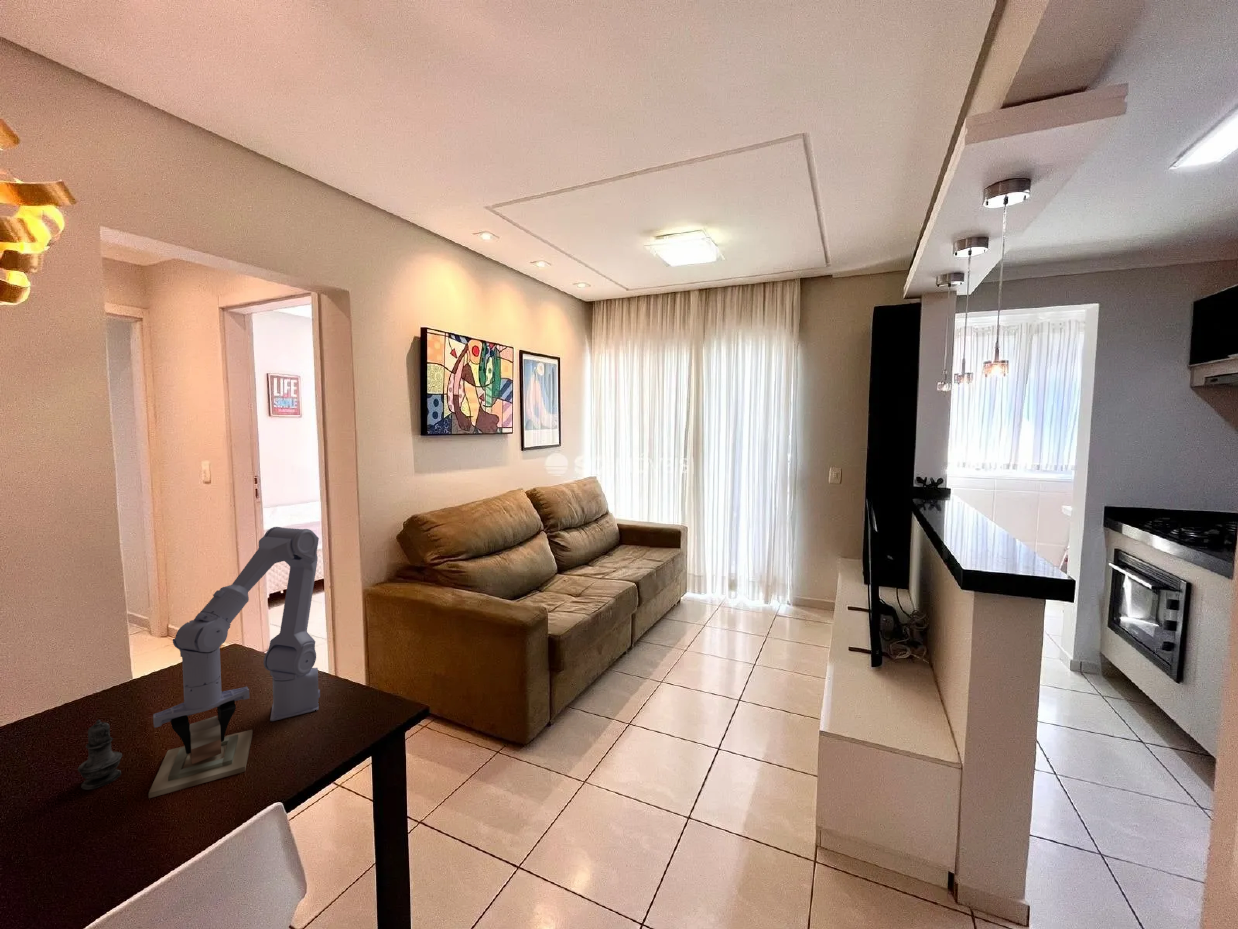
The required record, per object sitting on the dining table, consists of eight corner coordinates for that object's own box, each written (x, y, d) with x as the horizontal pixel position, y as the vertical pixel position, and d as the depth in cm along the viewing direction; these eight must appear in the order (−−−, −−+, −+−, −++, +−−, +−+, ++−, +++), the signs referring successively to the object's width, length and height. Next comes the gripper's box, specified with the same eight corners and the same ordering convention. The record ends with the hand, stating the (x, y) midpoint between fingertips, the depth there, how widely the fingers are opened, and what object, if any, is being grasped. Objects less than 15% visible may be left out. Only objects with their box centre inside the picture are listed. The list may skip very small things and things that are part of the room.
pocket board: (252, 733, 108) (252, 725, 108) (245, 771, 96) (244, 762, 96) (168, 754, 101) (167, 746, 101) (148, 798, 89) (148, 789, 89)
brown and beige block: (217, 743, 102) (216, 715, 101) (221, 753, 99) (220, 724, 98) (189, 753, 98) (187, 725, 98) (192, 764, 95) (190, 734, 95)
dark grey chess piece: (94, 793, 90) (90, 730, 89) (69, 788, 91) (66, 726, 90) (131, 771, 96) (128, 712, 95) (108, 767, 97) (105, 708, 96)
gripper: (243, 661, 105) (245, 721, 106) (150, 686, 95) (153, 753, 96) (250, 672, 101) (252, 736, 102) (153, 700, 90) (157, 770, 91)
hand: (205, 745), depth 98 cm, fingers closed on brown and beige block, 4 cm apart
